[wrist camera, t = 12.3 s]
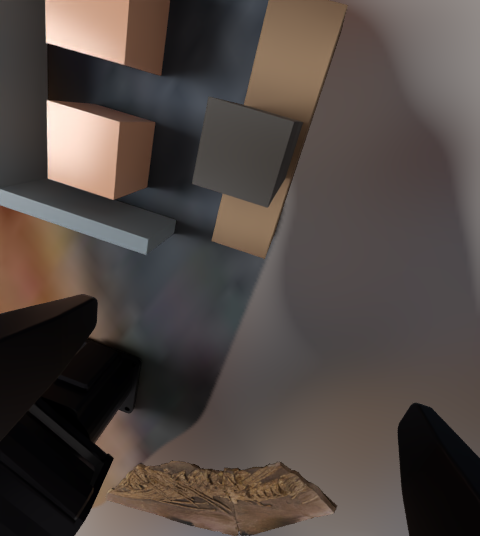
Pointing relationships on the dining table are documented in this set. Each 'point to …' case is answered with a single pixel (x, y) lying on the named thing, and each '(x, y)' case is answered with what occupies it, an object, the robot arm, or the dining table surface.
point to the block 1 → (111, 30)
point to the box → (35, 145)
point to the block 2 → (98, 148)
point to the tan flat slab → (223, 496)
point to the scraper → (267, 122)
